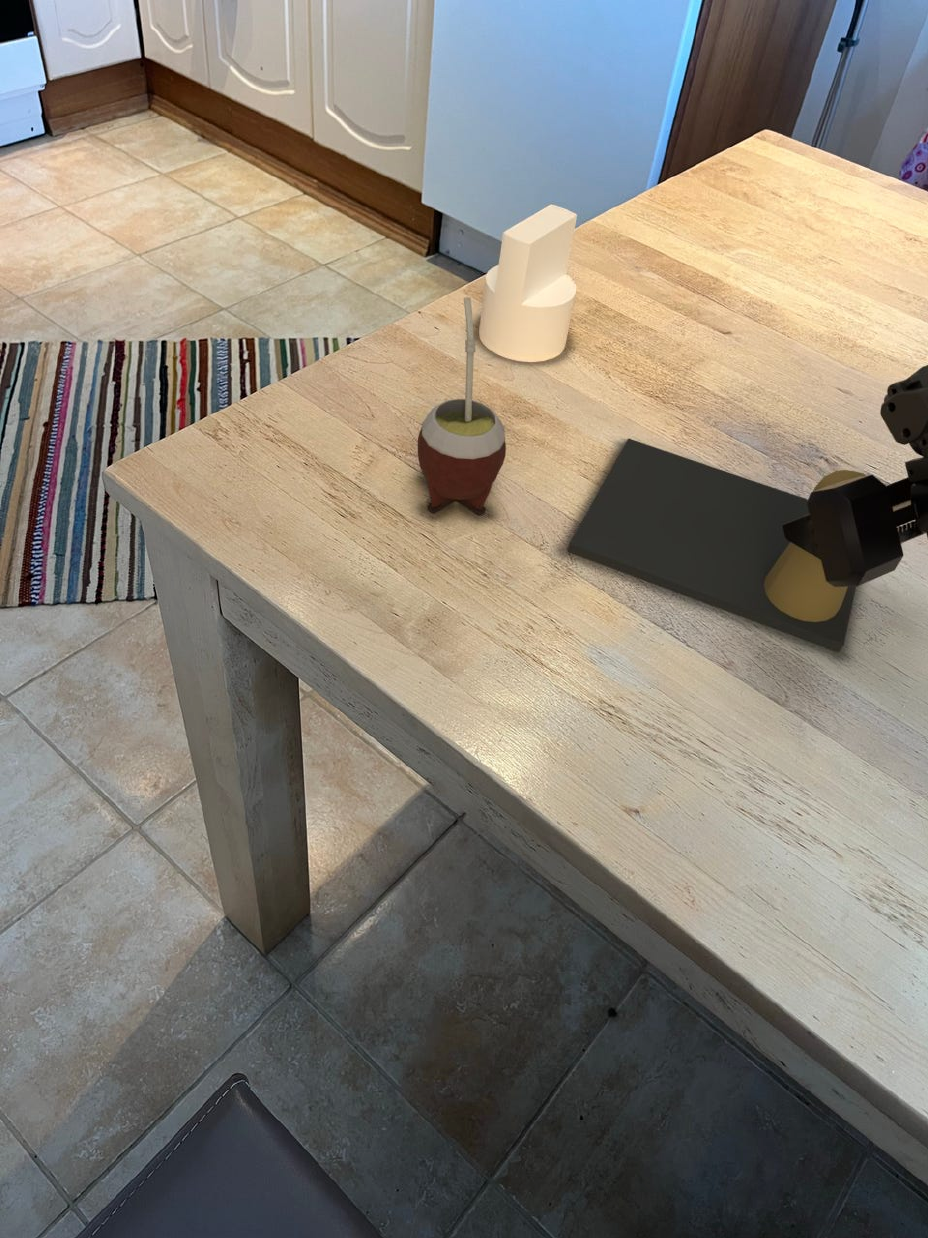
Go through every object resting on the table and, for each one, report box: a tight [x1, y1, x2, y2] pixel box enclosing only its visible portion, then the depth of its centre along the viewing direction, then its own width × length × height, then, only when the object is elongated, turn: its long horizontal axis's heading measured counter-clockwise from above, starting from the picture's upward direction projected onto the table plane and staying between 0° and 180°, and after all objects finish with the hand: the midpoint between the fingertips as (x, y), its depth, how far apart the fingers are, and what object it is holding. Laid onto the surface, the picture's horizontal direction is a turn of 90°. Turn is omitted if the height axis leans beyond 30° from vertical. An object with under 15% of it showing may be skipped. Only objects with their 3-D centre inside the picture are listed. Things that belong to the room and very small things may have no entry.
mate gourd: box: [417, 296, 507, 517], centre depth 74 cm, size 8×8×15 cm
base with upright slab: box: [478, 204, 578, 363], centre depth 93 cm, size 9×9×12 cm
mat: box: [567, 438, 857, 653], centre depth 79 cm, size 22×16×1 cm
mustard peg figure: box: [764, 469, 867, 622], centre depth 70 cm, size 6×6×11 cm
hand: (830, 514), depth 69 cm, fingers open, 9 cm apart
